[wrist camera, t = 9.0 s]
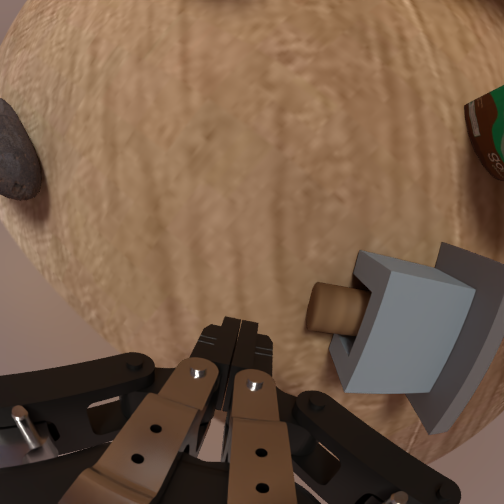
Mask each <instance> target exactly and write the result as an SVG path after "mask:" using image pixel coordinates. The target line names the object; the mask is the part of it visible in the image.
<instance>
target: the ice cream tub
mask: <svg viewBox="0 0 504 504" xmlns="http://www.w3.org/2000/svg"><path fill="white" fill-rule="evenodd" d="M464 110H465V120H466V124H467V129H468V134H469V137H470V139H471V142H472V145H473V147H474V150H475V152H476V154H477V156H478V158H479V159H480V161H481V163H482V165H483V166H484V168H485V169H486V170H487V171H488V172H489V173H490V174H491V175H492V176H493V177H494V178H496V179H498V180H501V181H504V85H503V86H501V87H499V88H497V89H495V90H493V91H491V92H489V93H487V94H485V95H483V96H481V97H479V98H477V99H475V100H474V101H472V102H470V103H468V104H466V105H464Z"/></svg>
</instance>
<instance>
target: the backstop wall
mask: <svg viewBox="0 0 504 504" xmlns="http://www.w3.org/2000/svg"><path fill="white" fill-rule="evenodd" d="M435 268H436V269H438V270H440V271H442V272H444V273H446V274H448V275H450V276H451V277H453V278H455V279H457V280H459V281H461V282H463V283H465V284H466V285H468V286H470V287H472V288H474V289H475V290H476V291H475V294H474V297H473V300H472V303H471V306H470V308H469V311H468V314H467V316H466V319H465V321H464V324H463V326H462V329H461V331H460V333H459V336H458V338H457V340H456V342H455V344H454V347H453V349H452V351H451V353H450V355H449V357H448V359H447V361H446V363H445V365H444V367H443V369H442V371H441V372H440V374H439V376H438V378H437V380H436V382H435V383H434V385H433V387H432V389H431V390H430V392H426V393H405V395H406V396H407V398H408V400H409V401H410V403H411V405H412V406H413V408H414V410H415V412H416V413H417V415H418V417H419V418H420V420H421V422H422V424H423V425H424V427H425V429H426V431H427V433H428V434H429V435H432V434H438V433H443V432H447V431H448V430H449V429H450V428H451V426H452V425H453V424H454V422H455V421H456V419H457V418H458V417H459V415H460V414H461V412H462V411H463V409H464V408H465V406H466V405H467V403H468V402H469V400H470V399H471V397H472V396H473V394H474V392H475V391H476V389H477V387H478V386H479V384H480V382H481V380H482V379H483V377H484V375H485V373H486V372H487V370H488V368H489V366H490V364H491V362H492V360H493V358H494V356H495V354H496V352H497V350H498V348H499V346H500V344H501V341H502V339H503V337H504V264H502V263H499V262H497V261H494V260H492V259H489V258H486V257H484V256H481V255H478V254H476V253H473V252H470V251H467V250H465V249H462V248H459V247H456V246H453V245H450V244H447V243H444V242H442V243H441V247H440V251H439V255H438V259H437V262H436V266H435Z"/></svg>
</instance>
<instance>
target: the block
mask: <svg viewBox="0 0 504 504" xmlns="http://www.w3.org/2000/svg"><path fill="white" fill-rule="evenodd" d="M353 274H354V275H355V276H356V277H357V278H358V279H359V280H360V281H361V282H362V283H363V284H364V285H365V286H366V287H367V288H368V289H369V290H370V291H371V292H372V294H371V297H370V300H369V303H368V306H367V309H366V312H365V315H364V318H363V321H362V323H361V326H360V329H359V332H358V334H357V336H350V335H342V334H334V336H333V338H332V341H331V344H330V347H329V351H330V353H331V356H332V359H333V362H334V364H335V367H336V370H337V373H338V376H339V379H340V381H341V384H342V387H343V390H344V392H346V393H372V394H401V393H426V392H430V390H431V389H432V387H433V385H434V383H435V382H436V380H437V378H438V376H439V374H440V372H441V371H442V369H443V367H444V365H445V363H446V361H447V359H448V357H449V355H450V353H451V351H452V349H453V347H454V344H455V342H456V340H457V338H458V336H459V333H460V331H461V329H462V326H463V324H464V321H465V319H466V316H467V314H468V311H469V308H470V306H471V303H472V300H473V297H474V294H475V291H476V290H475V289H474V288H472V287H470V286H468V285H466V284H465V283H463V282H461V281H459V280H457V279H455V278H453V277H451V276H450V275H448V274H446V273H444V272H442V271H440V270H438V269H436V268H433V267H429V266H425V265H421V264H416V263H412V262H408V261H404V260H400V259H396V258H392V257H388V256H383V255H379V254H375V253H370V252H366V251H362V250H359V254H358V258H357V262H356V265H355V269H354V273H353Z"/></svg>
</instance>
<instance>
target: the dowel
mask: <svg viewBox="0 0 504 504" xmlns="http://www.w3.org/2000/svg"><path fill="white" fill-rule="evenodd" d="M371 294H372V292H371V291H365V290H359V289H354V288H348V287H342V286H337V285H331V284H326V283H320V282H317V283H316V284H315V285H314V287H313V289H312V293H311V297H310V301H309V304H308V308H307V318H306V323H307V328H308V330H312V331H319V332H326V333H334V334H342V335H350V336H357V334H358V332H359V329H360V326H361V323H362V321H363V318H364V315H365V312H366V309H367V306H368V303H369V300H370V297H371Z"/></svg>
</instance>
